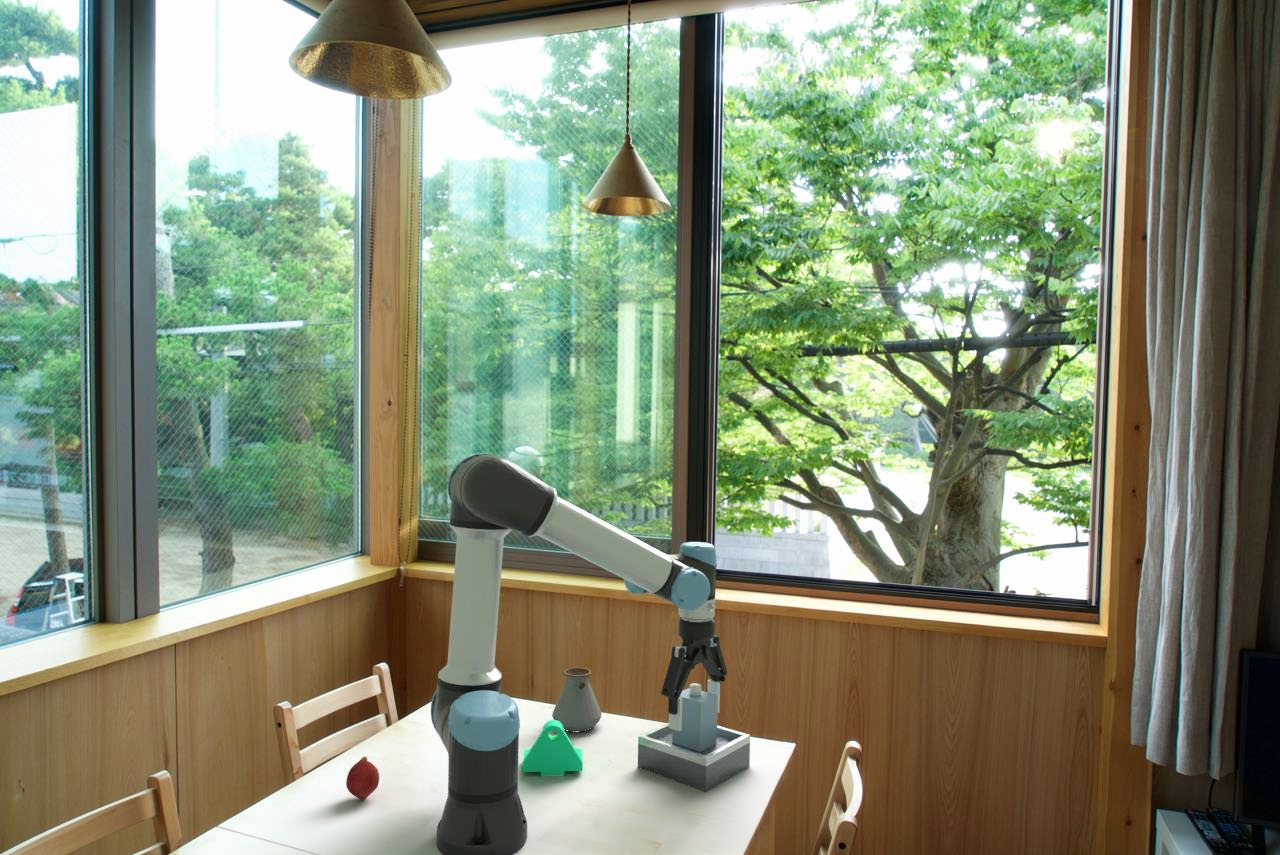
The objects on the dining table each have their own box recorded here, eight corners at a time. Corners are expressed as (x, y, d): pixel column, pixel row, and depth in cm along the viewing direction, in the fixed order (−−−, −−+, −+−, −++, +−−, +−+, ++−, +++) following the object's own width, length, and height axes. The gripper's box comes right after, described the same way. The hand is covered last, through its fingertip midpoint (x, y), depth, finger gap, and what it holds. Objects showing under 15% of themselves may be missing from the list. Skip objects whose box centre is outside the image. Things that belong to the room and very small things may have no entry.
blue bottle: (699, 751, 167) (701, 692, 167) (672, 742, 171) (673, 684, 171) (716, 743, 172) (717, 685, 171) (689, 734, 176) (690, 678, 176)
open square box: (705, 792, 160) (706, 758, 160) (637, 767, 171) (638, 736, 171) (749, 766, 172) (750, 735, 172) (683, 744, 183) (683, 715, 183)
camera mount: (581, 760, 174) (582, 711, 174) (582, 776, 167) (583, 725, 166) (524, 761, 173) (524, 712, 173) (522, 777, 165) (523, 726, 165)
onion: (344, 808, 151) (345, 764, 151) (347, 794, 156) (347, 751, 156) (378, 804, 152) (379, 761, 152) (379, 791, 158) (380, 749, 158)
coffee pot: (551, 718, 198) (552, 655, 198) (598, 716, 199) (600, 654, 199) (554, 754, 177) (556, 684, 177) (608, 752, 178) (609, 682, 178)
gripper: (675, 632, 159) (673, 742, 159) (744, 610, 179) (742, 708, 179) (645, 625, 164) (643, 732, 164) (715, 605, 183) (713, 700, 184)
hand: (694, 720), depth 171 cm, fingers open, 13 cm apart
